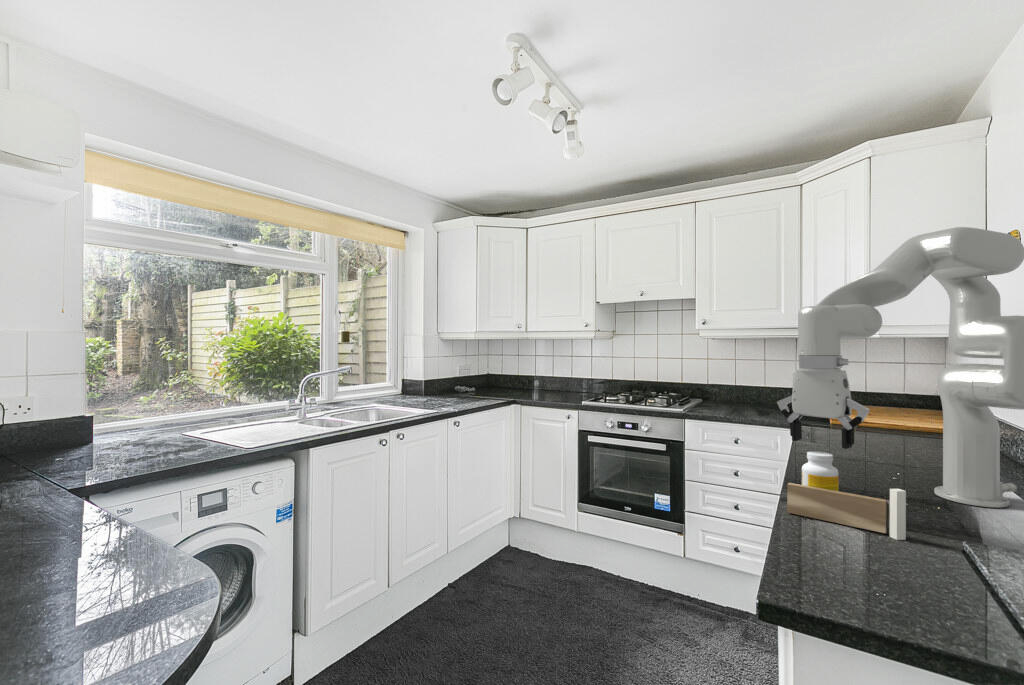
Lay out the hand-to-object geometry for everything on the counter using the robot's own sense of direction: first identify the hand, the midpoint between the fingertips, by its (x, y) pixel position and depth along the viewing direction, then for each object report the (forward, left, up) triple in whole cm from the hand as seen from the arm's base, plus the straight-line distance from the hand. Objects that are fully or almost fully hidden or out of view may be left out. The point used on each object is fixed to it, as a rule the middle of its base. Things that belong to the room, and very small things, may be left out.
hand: (821, 443), depth 101 cm
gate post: (-5, +13, -15) cm, 20 cm away
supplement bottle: (0, 0, -15) cm, 15 cm away
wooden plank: (+1, +6, -15) cm, 16 cm away
